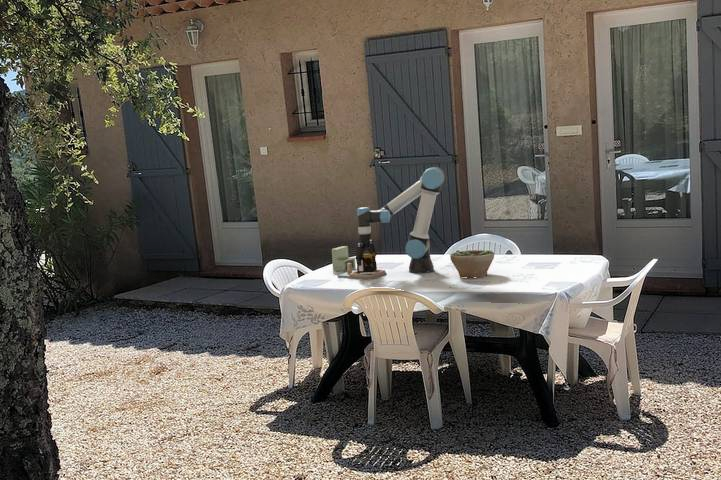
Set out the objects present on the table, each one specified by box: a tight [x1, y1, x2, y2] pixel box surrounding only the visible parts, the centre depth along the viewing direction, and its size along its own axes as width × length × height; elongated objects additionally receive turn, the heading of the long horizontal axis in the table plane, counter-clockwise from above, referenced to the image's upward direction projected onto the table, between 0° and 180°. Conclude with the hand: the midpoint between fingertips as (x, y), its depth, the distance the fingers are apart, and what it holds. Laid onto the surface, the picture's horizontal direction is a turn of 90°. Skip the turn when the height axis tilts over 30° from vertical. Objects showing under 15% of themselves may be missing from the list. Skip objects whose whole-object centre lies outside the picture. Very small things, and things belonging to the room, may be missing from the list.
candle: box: [355, 252, 378, 273], centre depth 470 cm, size 10×10×10 cm
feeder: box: [331, 245, 357, 273], centre depth 497 cm, size 9×12×14 cm
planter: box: [449, 249, 495, 279], centre depth 450 cm, size 26×25×15 cm
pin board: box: [337, 263, 388, 280], centre depth 473 cm, size 25×16×7 cm, turn 55°
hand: (367, 268), depth 470 cm, fingers closed on candle, 12 cm apart
